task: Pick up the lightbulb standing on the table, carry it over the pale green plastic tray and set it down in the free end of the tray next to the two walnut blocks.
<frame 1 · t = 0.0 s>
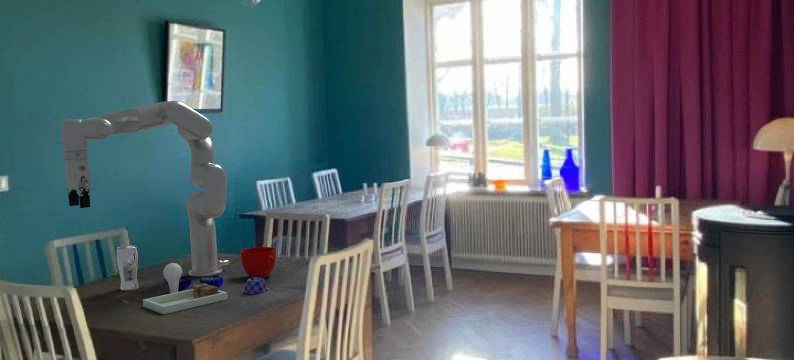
hand: (79, 206, 241), 31 cm above the table, tool pointing down, fingers open, 9 cm apart
beer glass: (129, 289, 254), on the table
walnut block A: (209, 299, 231), point 1 cm above the table, touching tray
ceramic cup: (262, 277, 264), on the table
pudding: (256, 294, 240), on the table
walnut block B: (201, 297, 235), point 1 cm above the table, touching tray
lightbulb: (174, 295, 242), on the table
tray: (186, 305, 228), on the table
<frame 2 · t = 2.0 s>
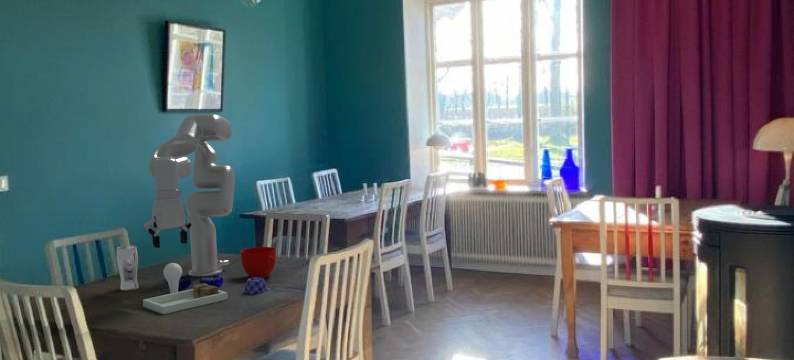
hand: (170, 245, 240), 17 cm above the table, tool pointing down, fingers open, 9 cm apart
nothing on the table moved.
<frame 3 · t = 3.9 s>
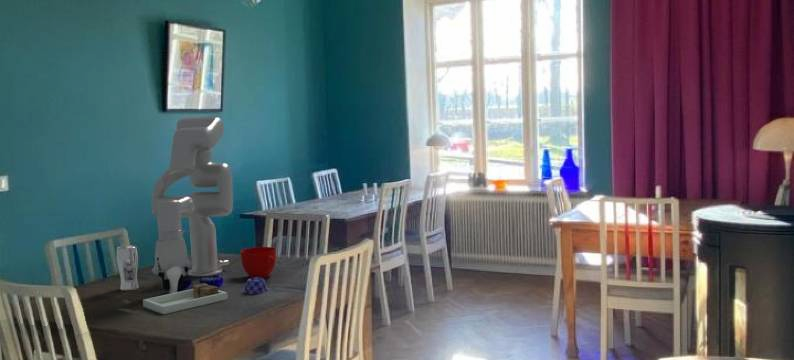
hand: (173, 288, 242), 2 cm above the table, tool pointing down, fingers closed on lightbulb, 4 cm apart
lightbulb: (173, 295, 242), on the table, touching gripper
everything else where it was.
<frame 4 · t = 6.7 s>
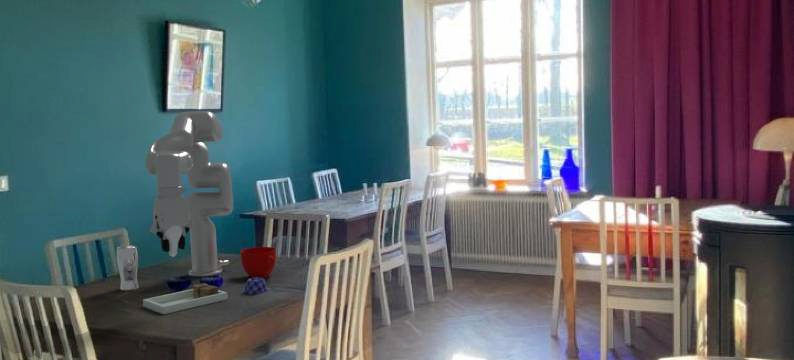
hand: (173, 249, 224), 19 cm above the table, tool pointing down, fingers closed on lightbulb, 4 cm apart
lightbulb: (173, 257, 224), point 16 cm above the table, touching gripper
everything else where it was.
when the fingers open (5 cm above the table, at t = 9.5 s): lightbulb drops 1 cm, resting on tray.
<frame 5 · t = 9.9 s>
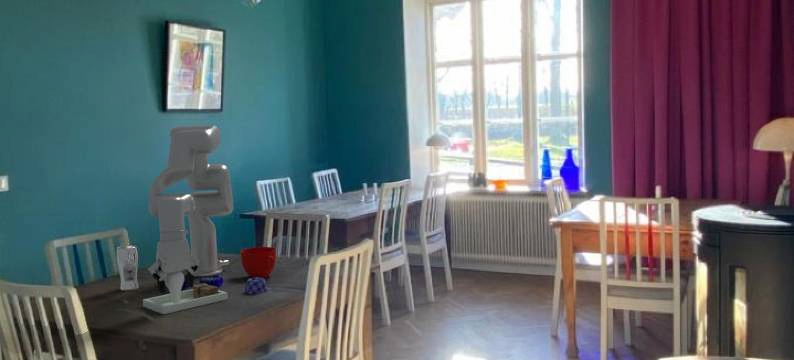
hand: (176, 289, 225), 6 cm above the table, tool pointing down, fingers open, 9 cm apart
lightbulb: (176, 304, 227), point 1 cm above the table, touching tray
everything else where it was.
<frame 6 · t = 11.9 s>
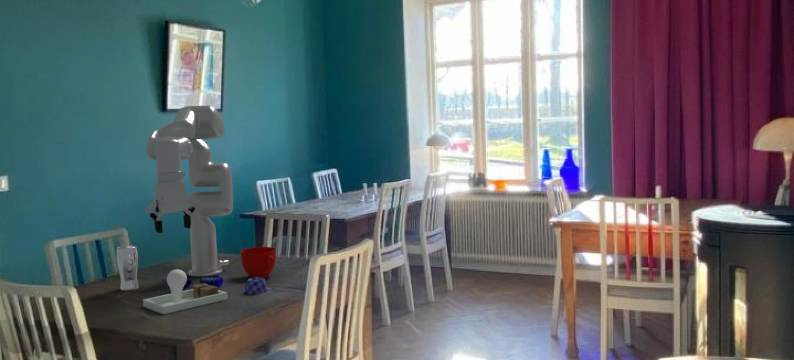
hand: (173, 230, 230), 24 cm above the table, tool pointing down, fingers open, 9 cm apart
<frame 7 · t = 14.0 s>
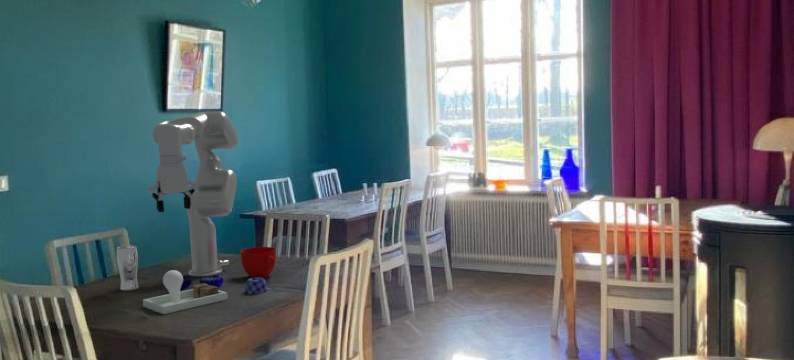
hand: (174, 210, 245), 28 cm above the table, tool pointing down, fingers open, 9 cm apart
at the end: lightbulb inside the target area on the tray (2.8 cm from its centre), point 0.7 cm above the tray's base; the gripper is holding nothing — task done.
